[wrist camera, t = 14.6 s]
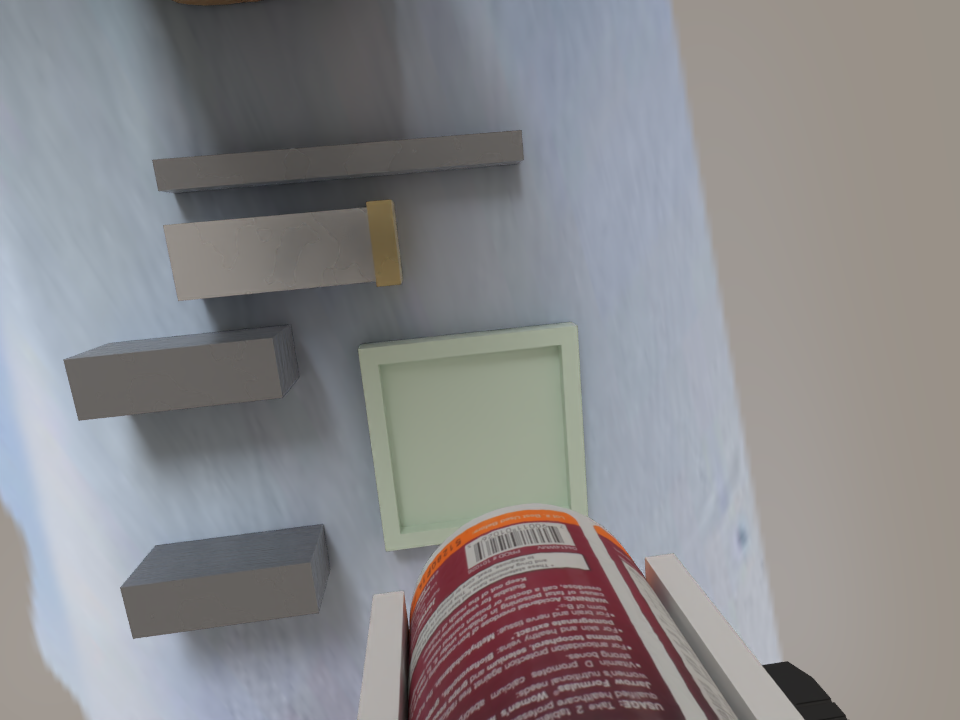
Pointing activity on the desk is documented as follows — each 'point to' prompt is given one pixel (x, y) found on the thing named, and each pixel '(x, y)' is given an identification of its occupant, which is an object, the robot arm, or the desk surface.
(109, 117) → the desk surface
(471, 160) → the rail
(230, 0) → the block
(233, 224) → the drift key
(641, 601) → the pill bottle
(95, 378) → the socket
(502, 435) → the tray
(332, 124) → the desk surface
